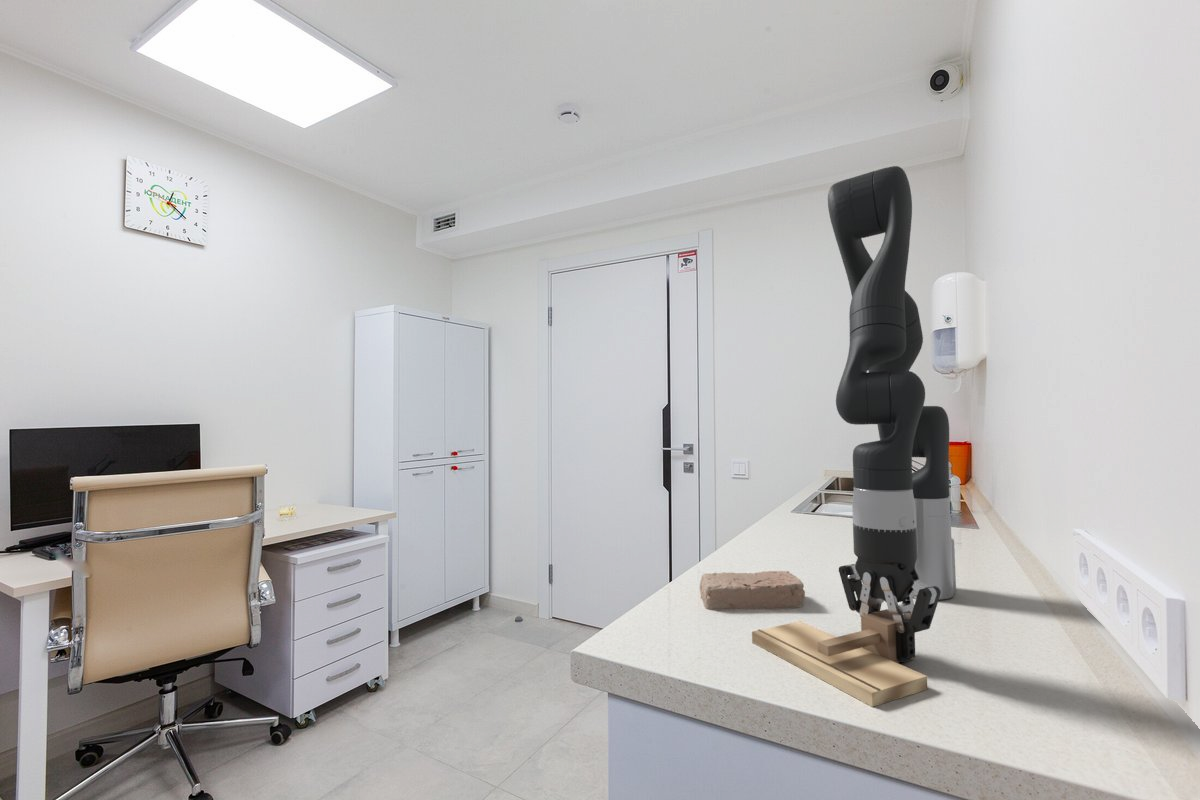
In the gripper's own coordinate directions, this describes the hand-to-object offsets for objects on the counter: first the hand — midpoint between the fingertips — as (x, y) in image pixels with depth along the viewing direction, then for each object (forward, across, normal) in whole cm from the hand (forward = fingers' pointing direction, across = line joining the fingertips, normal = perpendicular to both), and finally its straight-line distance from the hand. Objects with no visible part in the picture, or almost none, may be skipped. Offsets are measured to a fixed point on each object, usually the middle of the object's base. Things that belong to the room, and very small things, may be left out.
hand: (888, 652), depth 74 cm
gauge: (0, 0, +4) cm, 4 cm away
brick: (+1, +26, +1) cm, 26 cm away
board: (+1, +2, +8) cm, 8 cm away
